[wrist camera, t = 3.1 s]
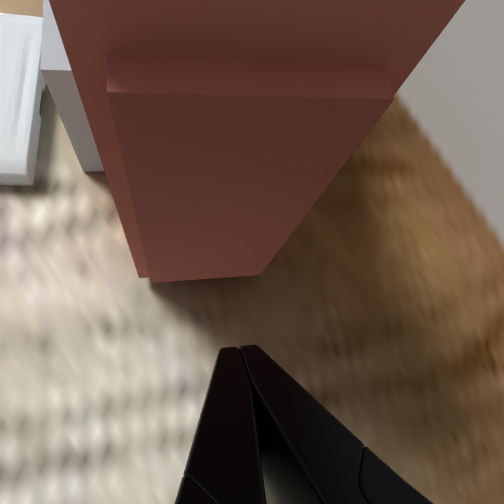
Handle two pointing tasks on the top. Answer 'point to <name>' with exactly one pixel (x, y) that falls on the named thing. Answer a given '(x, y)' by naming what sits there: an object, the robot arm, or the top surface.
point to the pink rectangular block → (233, 113)
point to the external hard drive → (20, 97)
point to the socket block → (66, 93)
